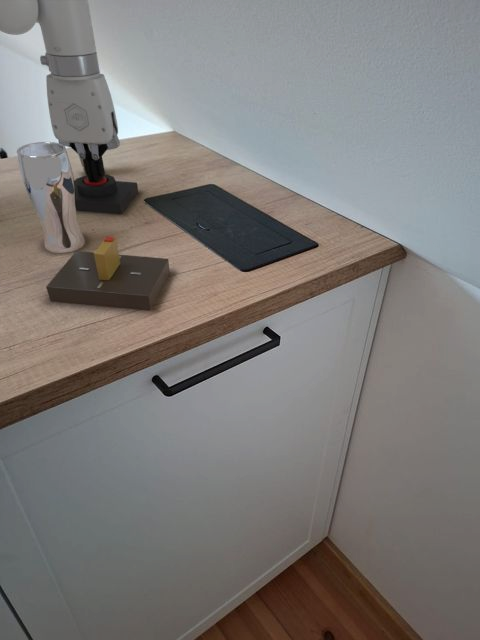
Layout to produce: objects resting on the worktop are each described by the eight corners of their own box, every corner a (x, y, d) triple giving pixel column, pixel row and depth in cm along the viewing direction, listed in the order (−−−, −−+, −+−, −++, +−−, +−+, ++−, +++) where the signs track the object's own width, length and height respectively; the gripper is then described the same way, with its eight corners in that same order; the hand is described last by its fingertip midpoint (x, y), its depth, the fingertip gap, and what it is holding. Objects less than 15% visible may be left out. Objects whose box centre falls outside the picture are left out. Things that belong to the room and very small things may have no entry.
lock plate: (50, 302, 67) (45, 285, 65) (79, 265, 74) (75, 249, 72) (150, 311, 66) (148, 294, 64) (170, 273, 73) (168, 257, 72)
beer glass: (35, 242, 79) (7, 146, 70) (76, 230, 83) (55, 138, 73) (52, 259, 75) (25, 160, 66) (95, 246, 79) (75, 151, 69)
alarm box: (57, 210, 89) (52, 188, 86) (79, 189, 96) (75, 168, 94) (121, 215, 88) (118, 193, 85) (138, 193, 96) (135, 173, 93)
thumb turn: (109, 280, 66) (103, 252, 64) (99, 279, 67) (93, 251, 64) (120, 263, 70) (115, 236, 67) (111, 262, 70) (105, 235, 67)
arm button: (82, 192, 89) (80, 182, 88) (90, 184, 92) (88, 174, 91) (103, 193, 89) (101, 184, 88) (111, 185, 92) (109, 176, 91)
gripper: (17, 67, 75) (48, 184, 87) (111, 72, 74) (129, 190, 86) (40, 58, 81) (65, 169, 93) (127, 63, 80) (142, 174, 92)
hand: (96, 179), depth 90 cm, fingers closed
